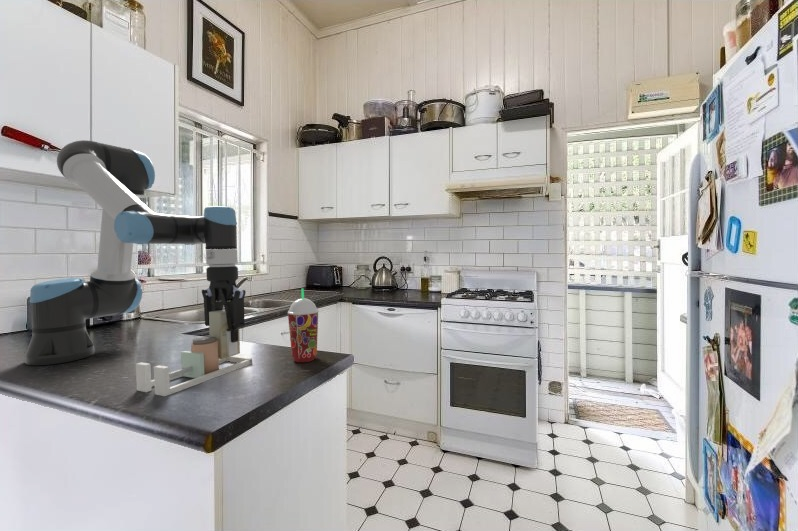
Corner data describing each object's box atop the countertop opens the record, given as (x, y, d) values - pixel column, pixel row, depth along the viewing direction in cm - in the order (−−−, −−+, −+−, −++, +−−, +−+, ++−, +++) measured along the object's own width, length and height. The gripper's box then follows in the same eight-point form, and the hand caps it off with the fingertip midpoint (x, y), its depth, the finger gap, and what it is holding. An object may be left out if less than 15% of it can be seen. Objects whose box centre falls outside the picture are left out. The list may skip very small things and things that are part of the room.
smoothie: (315, 364, 99) (313, 289, 98) (284, 364, 99) (282, 290, 98) (322, 355, 107) (320, 286, 106) (294, 355, 107) (292, 287, 106)
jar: (186, 375, 91) (185, 340, 90) (208, 368, 96) (206, 335, 96) (203, 379, 88) (201, 342, 88) (224, 371, 94) (223, 337, 93)
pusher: (148, 387, 83) (147, 360, 82) (185, 374, 91) (184, 350, 91) (168, 391, 80) (166, 364, 80) (204, 377, 88) (203, 353, 88)
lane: (136, 390, 82) (135, 363, 81) (226, 360, 104) (226, 338, 104) (164, 396, 78) (163, 368, 78) (252, 363, 100) (251, 341, 100)
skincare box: (221, 359, 94) (219, 312, 93) (209, 357, 96) (207, 311, 95) (240, 353, 100) (239, 309, 99) (229, 351, 102) (227, 308, 101)
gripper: (186, 266, 97) (190, 353, 98) (235, 266, 90) (238, 360, 91) (211, 265, 104) (214, 346, 105) (258, 265, 97) (261, 352, 98)
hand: (225, 353), depth 98 cm, fingers closed on skincare box, 4 cm apart
